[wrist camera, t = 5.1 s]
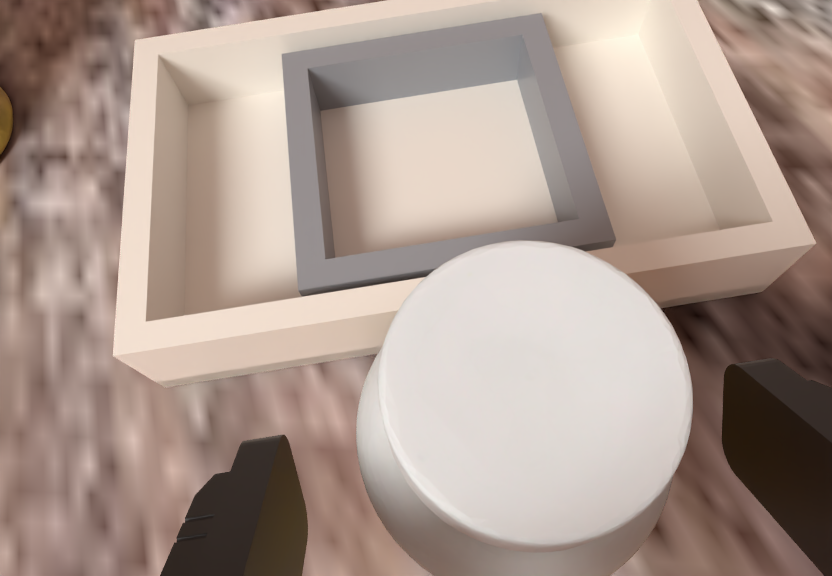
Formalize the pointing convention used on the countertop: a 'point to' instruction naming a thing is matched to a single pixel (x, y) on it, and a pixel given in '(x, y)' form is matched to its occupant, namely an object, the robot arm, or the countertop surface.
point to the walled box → (427, 170)
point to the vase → (5, 120)
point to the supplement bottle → (524, 415)
